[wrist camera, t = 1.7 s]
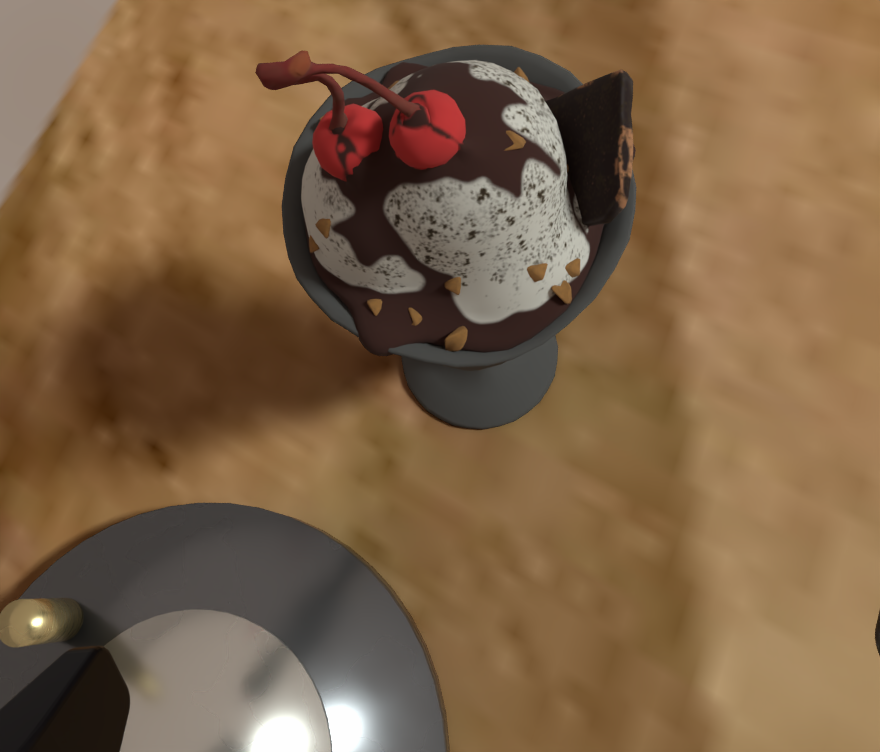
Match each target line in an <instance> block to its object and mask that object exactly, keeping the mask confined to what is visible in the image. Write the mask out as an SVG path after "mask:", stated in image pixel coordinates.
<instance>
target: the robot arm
mask: <svg viewBox="0 0 880 752" xmlns="http://www.w3.org/2000/svg"><path fill="white" fill-rule="evenodd" d="M875 641H876V646H877V650H878V653H879V655H880V611H879V616H878V620H877V624H876V629H875ZM129 710H130V694H129V690H128V687H127V685H126V683H125V681H124V679H123V677H122V675H121V673H120V671H119V669H118V667H117V665H116V663H115V661H114V659H113V657H112V655H111V653H110V652H109V650H108V649H106V648H105V647H103V646H89V647H77V648H72V649H69V650H68V651H66V652H65V653H63V654H62V655H61V656H60V657H58V658H57V659H56V660H55V661H54V662H53V663H52V664H50V665H49V666H48V667H47V668H46V669H45V670H44V671H43V672H41V673H40V674H39V675H38V676H37V677H36V678H35V679H33V680H32V681H31V682H30V683H29V684H28V685H27V686H25V687H24V688H23V689H22V690H21V691H20V692H19V693H18V694H16V695H15V696H14V697H13V698H12V699H11V700H10V701H8V702H7V703H6V704H5V705H4V706H3V707H2V708H1V709H0V752H120V749H121V745H122V741H123V737H124V732H125V728H126V724H127V719H128V715H129Z"/></svg>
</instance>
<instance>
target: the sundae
mask: <svg viewBox="0 0 880 752" xmlns="http://www.w3.org/2000/svg"><path fill="white" fill-rule="evenodd" d="M255 73H256V74H257V76H258V77H259V79H260V81H261V82H262V84H263V86H264V87H266V88H268V89H270V90H278V89H281V88H285V87H288V86H291V85H298V84H304V83H308V82H313V81H319V82H321V83H323V84H324V85H326V86H327V88H328V89H329V91H330V92H331V95H330V96H329V97H328V98H327V100H326V101H325V102H324V103H323V104H322V106H321V107H320V108H319V109H318V110H317V111H316V113H315V114H314V115H313V116H312V117H311V119H310V120H309V122H308V123H307V125H306V127H305V128H304V130H303V132H302V133H301V135H300V137H299V139H298V140H297V142H296V144H295V145H294V147H293V151H292V155H291V159H290V163H289V166H288V170H287V174H286V178H285V185H284V192H283V200H282V218H283V234H284V238H285V243H286V248H287V253H288V258H289V260H290V263H291V265H292V268H293V271H294V273H295V276H296V278H297V280H298V281H299V283H300V284H301V286H302V287H303V288H304V290H305V291H306V292H307V294H308V295H309V297H310V298H311V299H312V300H313V301H314V302H315V303H316V304H317V305H318V306H319V308H320V309H321V310H322V311H323V312H324V313H325V314H326V315H327V316H328V317H329V318H330V319H331V320H332V321H334V322H335V323H337V324H339V325H340V326H342V327H343V328H345V329H346V330H348V331H350V332H351V333H353V334H354V335H356V336H357V337H359V340H360V342H361V343H362V345H363V346H364V347H365V348H366V349H367V350H368V351H369V352H370V353H373V354H375V355H378V356H388V355H392V354H396V355H400V356H402V364H403V369H404V374H405V377H406V380H407V384H408V387H409V388H410V390H411V391H412V393H413V394H414V396H415V397H416V399H417V400H418V401H419V402H420V403H421V404H422V406H423V407H424V408H425V409H426V410H427V411H429V412H430V413H432V414H433V415H435V416H436V417H438V418H439V419H441V420H443V421H445V422H447V423H449V424H451V425H454V426H459V427H464V428H472V429H488V428H493V427H498V426H502V425H505V424H508V423H511V422H514V421H516V420H517V419H519V418H520V417H522V416H523V415H525V414H526V413H528V412H529V411H530V410H531V409H532V408H533V407H535V406H536V405H537V404H538V403H539V402H540V401H541V399H542V398H543V396H544V395H545V393H546V392H547V390H548V388H549V386H550V384H551V382H552V380H553V378H554V376H555V371H556V365H557V356H558V345H557V341H556V337H555V335H556V334H557V333H558V332H560V331H561V330H562V329H563V328H565V327H566V326H567V325H568V324H569V323H570V322H572V321H573V320H574V319H575V318H576V317H577V316H578V315H579V314H580V313H581V312H582V311H583V310H584V309H585V308H586V307H587V306H588V305H589V304H590V303H591V302H592V301H593V300H594V299H595V298H596V297H597V295H598V294H599V292H600V291H601V289H602V288H603V286H604V284H605V283H606V281H607V280H608V278H609V277H610V275H611V274H612V272H613V271H614V269H615V267H616V265H617V263H618V261H619V259H620V257H621V255H622V253H623V252H624V250H625V248H626V246H627V244H628V242H629V239H630V234H631V229H632V224H633V219H634V214H635V203H636V184H635V179H634V174H633V170H632V162H633V160H634V157H635V147H634V145H633V130H632V119H631V109H632V99H633V80H632V79H631V78H630V76H629V75H628V73H627V72H625V71H623V70H619V71H616V72H613V73H610V74H608V75H605V76H603V77H600V78H598V79H595V80H593V81H590V82H588V83H586V84H584V85H583V84H582V83H581V82H580V81H579V80H578V79H577V78H576V77H575V76H574V75H573V74H572V73H571V72H570V71H568V70H566V69H565V68H563V67H561V66H559V65H557V64H555V63H553V62H552V61H550V60H548V59H546V58H544V57H542V56H540V55H537V54H534V53H531V52H528V51H525V50H522V49H519V48H516V47H513V46H499V45H471V46H461V47H452V48H448V49H444V50H440V51H436V52H432V53H428V54H424V55H421V56H417V57H414V58H410V59H406V60H403V61H399V62H396V63H393V64H390V65H386V66H383V67H380V68H377V69H375V70H373V71H371V72H369V73H367V74H365V75H364V74H362V73H360V72H358V71H356V70H354V69H352V68H349V67H347V66H340V65H335V64H315V63H313V62H311V60H310V57H309V54H308V51H300V52H299V53H297V54H295V55H294V56H292V57H291V58H289V59H288V60H286V61H285V62H273V63H259V64H258V65H257V69H256V72H255ZM327 74H340V75H342V76H344V77H346V78H348V79H350V80H352V81H351V82H350V83H348V84H347V85H345V86H344V87H342V88H341V87H340V86H339V85H338V83H337V82H336V81H335V80H334V79H333V78H332V77H331V76H329V75H327Z"/></svg>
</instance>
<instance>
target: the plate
mask: <svg viewBox="0 0 880 752" xmlns="http://www.w3.org/2000/svg"><path fill="white" fill-rule="evenodd" d="M89 646H103V647H105V648H106V649H108V650H109V652H110V653H111V655H112V657H113V659H114V661H115V663H116V665H117V667H118V669H119V671H120V673H121V675H122V677H123V679H124V681H125V683H126V685H127V687H128V690H129V694H130V710H129V715H128V719H127V724H126V728H125V732H124V737H123V741H122V745H121V749H120V752H450V746H449V737H448V727H447V718H446V710H445V706H444V701H443V697H442V692H441V688H440V684H439V679H438V676H437V673H436V670H435V668H434V665H433V662H432V659H431V656H430V654H429V651H428V648H427V645H426V643H425V642H424V640H423V638H422V636H421V634H420V632H419V630H418V628H417V626H416V624H415V622H414V620H413V618H412V616H411V615H410V613H409V612H408V610H407V609H406V607H405V606H404V604H403V603H402V601H401V600H400V599H399V597H398V596H397V594H396V593H395V591H394V590H393V589H392V588H391V586H390V585H389V584H388V583H387V582H386V581H385V580H384V579H383V578H382V576H381V575H380V574H379V573H378V572H377V571H376V570H375V569H374V568H373V567H372V566H371V565H370V564H369V563H368V562H367V561H365V560H364V559H363V558H362V557H361V556H360V555H358V554H357V553H356V552H355V551H354V550H352V549H351V548H350V547H349V546H347V545H345V544H344V543H342V542H341V541H339V540H338V539H336V538H334V537H333V536H331V535H330V534H328V533H327V532H325V531H323V530H321V529H319V528H316V527H314V526H312V525H310V524H308V523H305V522H303V521H301V520H299V519H295V518H292V517H289V516H285V515H282V514H279V513H275V512H272V511H268V510H265V509H261V508H258V507H251V506H244V505H238V504H231V503H194V504H186V505H178V506H170V507H166V508H162V509H158V510H154V511H151V512H147V513H143V514H139V515H137V516H134V517H132V518H129V519H127V520H124V521H122V522H120V523H117V524H115V525H112V526H110V527H108V528H106V529H105V530H103V531H101V532H99V533H97V534H96V535H94V536H92V537H90V538H88V539H87V540H85V541H83V542H82V543H80V544H79V545H78V546H76V547H75V548H73V549H72V550H71V551H69V552H68V553H67V554H65V555H64V556H62V557H61V558H60V559H58V560H57V561H56V562H55V563H54V564H53V565H51V566H50V567H49V568H48V569H47V570H46V571H45V572H44V573H43V574H42V575H41V576H39V577H38V578H37V579H36V580H35V581H34V582H33V583H32V584H31V585H30V586H29V588H28V589H27V590H26V591H25V592H24V593H23V594H22V596H21V597H20V598H19V599H18V600H15V601H13V602H11V603H9V604H8V605H7V606H6V607H5V608H4V609H3V610H2V612H1V613H0V709H1V708H2V707H3V706H4V705H5V704H6V703H7V702H8V701H10V700H11V699H12V698H13V697H14V696H15V695H16V694H18V693H19V692H20V691H21V690H22V689H23V688H24V687H25V686H27V685H28V684H29V683H30V682H31V681H32V680H33V679H35V678H36V677H37V676H38V675H39V674H40V673H41V672H43V671H44V670H45V669H46V668H47V667H48V666H49V665H50V664H52V663H53V662H54V661H55V660H56V659H57V658H58V657H60V656H61V655H62V654H63V653H65V652H66V651H68V650H69V649H72V648H77V647H89Z"/></svg>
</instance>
